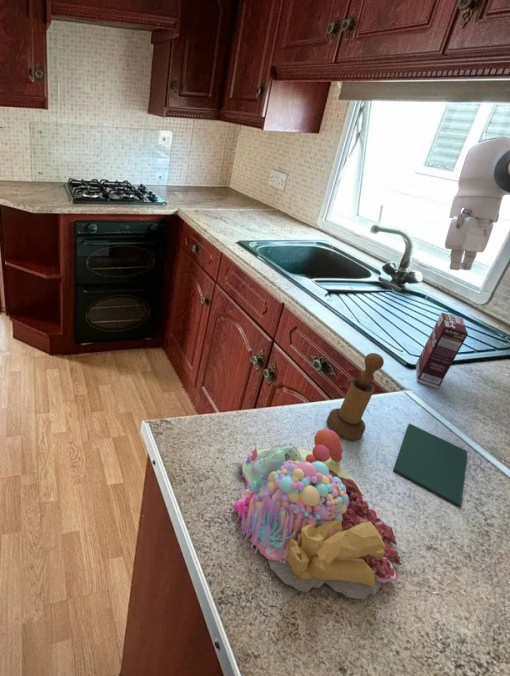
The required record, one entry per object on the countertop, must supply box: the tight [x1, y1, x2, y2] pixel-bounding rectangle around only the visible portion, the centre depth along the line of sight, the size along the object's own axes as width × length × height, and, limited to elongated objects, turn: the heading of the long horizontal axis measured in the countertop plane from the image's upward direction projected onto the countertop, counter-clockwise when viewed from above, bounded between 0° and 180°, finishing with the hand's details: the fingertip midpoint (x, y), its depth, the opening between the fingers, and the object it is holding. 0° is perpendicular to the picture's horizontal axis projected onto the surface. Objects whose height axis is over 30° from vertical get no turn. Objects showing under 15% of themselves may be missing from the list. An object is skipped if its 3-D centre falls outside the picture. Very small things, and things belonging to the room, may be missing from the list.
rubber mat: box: [392, 423, 468, 508], centre depth 75 cm, size 16×10×1 cm, turn 139°
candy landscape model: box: [233, 428, 402, 601], centre depth 61 cm, size 25×24×9 cm
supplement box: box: [415, 312, 469, 389], centre depth 96 cm, size 9×5×16 cm, turn 149°
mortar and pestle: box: [326, 352, 385, 442], centre depth 77 cm, size 7×6×18 cm
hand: (460, 270), depth 97 cm, fingers open, 8 cm apart
